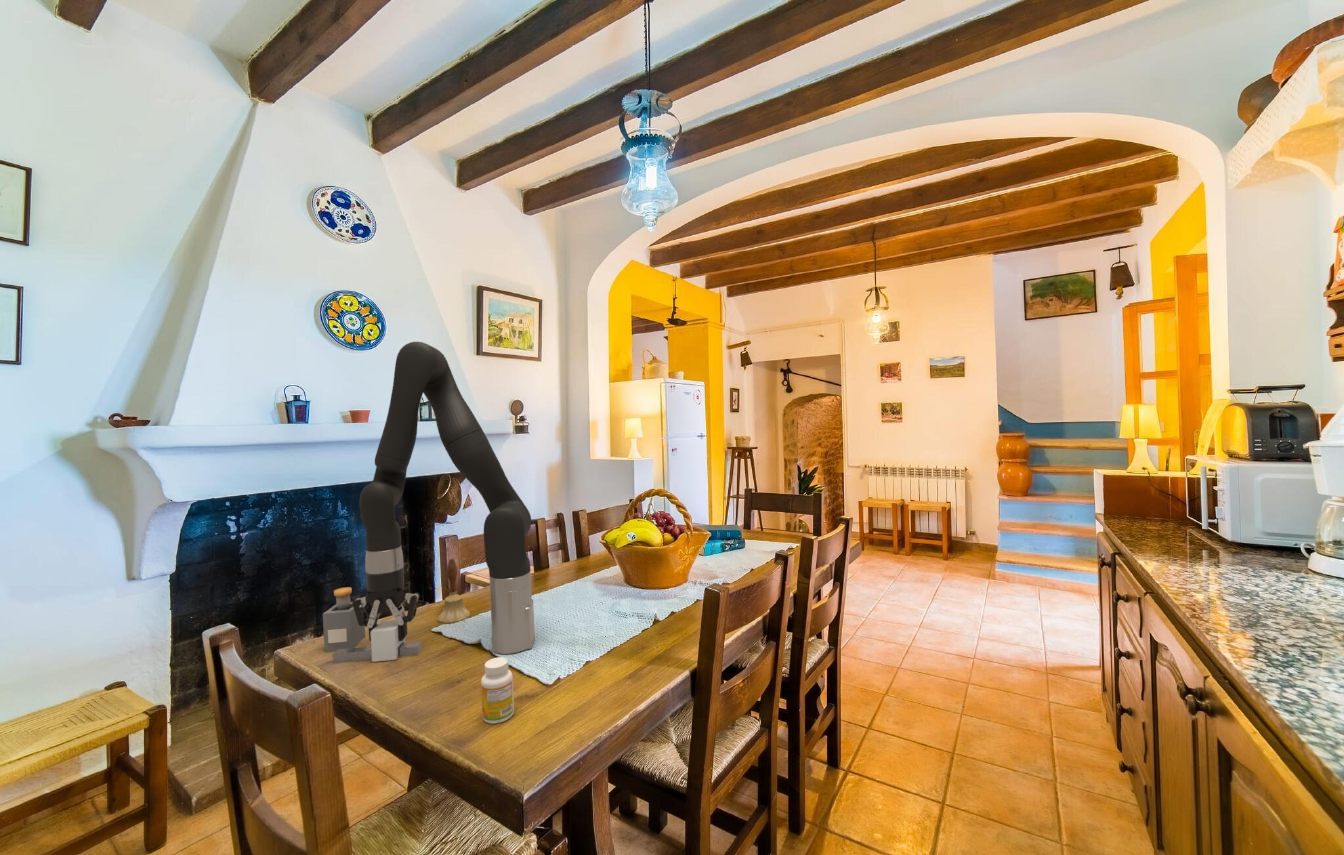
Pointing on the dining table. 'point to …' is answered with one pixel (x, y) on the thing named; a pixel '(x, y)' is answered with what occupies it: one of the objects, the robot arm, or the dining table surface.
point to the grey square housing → (341, 629)
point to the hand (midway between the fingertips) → (388, 640)
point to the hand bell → (453, 599)
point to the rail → (366, 652)
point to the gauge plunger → (343, 598)
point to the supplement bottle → (497, 691)
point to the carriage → (385, 641)
